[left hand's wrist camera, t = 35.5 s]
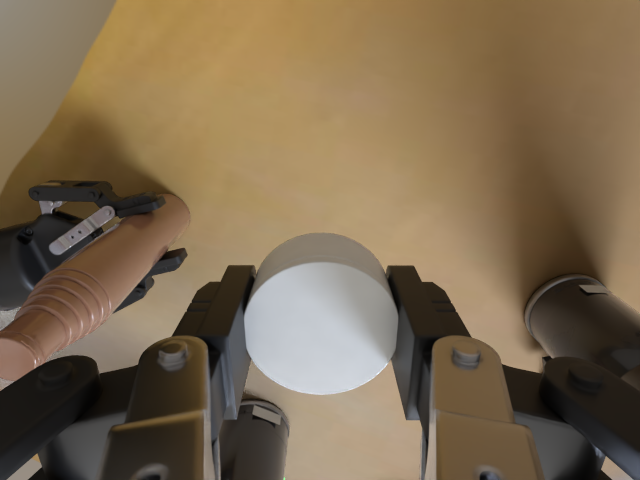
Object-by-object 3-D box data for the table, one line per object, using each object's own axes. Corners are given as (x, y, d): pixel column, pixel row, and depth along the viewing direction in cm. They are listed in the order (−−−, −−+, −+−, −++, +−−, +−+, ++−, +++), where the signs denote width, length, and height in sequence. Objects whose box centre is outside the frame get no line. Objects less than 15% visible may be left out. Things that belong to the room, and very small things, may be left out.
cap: (404, 328, 12) (418, 371, 11) (283, 364, 13) (277, 411, 11) (364, 212, 11) (373, 239, 9) (231, 257, 11) (215, 291, 10)
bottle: (171, 244, 44) (24, 410, 22) (136, 214, 43) (-57, 359, 21) (199, 215, 43) (73, 361, 21) (164, 184, 42) (-10, 304, 20)
